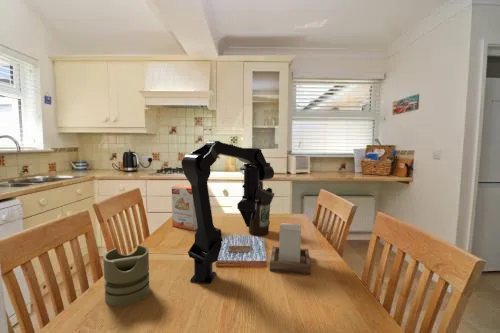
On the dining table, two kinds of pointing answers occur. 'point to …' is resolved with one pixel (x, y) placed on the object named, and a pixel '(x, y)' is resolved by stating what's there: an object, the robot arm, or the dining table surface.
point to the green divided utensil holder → (126, 276)
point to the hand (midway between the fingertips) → (250, 222)
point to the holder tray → (288, 267)
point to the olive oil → (261, 219)
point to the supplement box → (289, 243)
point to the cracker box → (183, 208)
